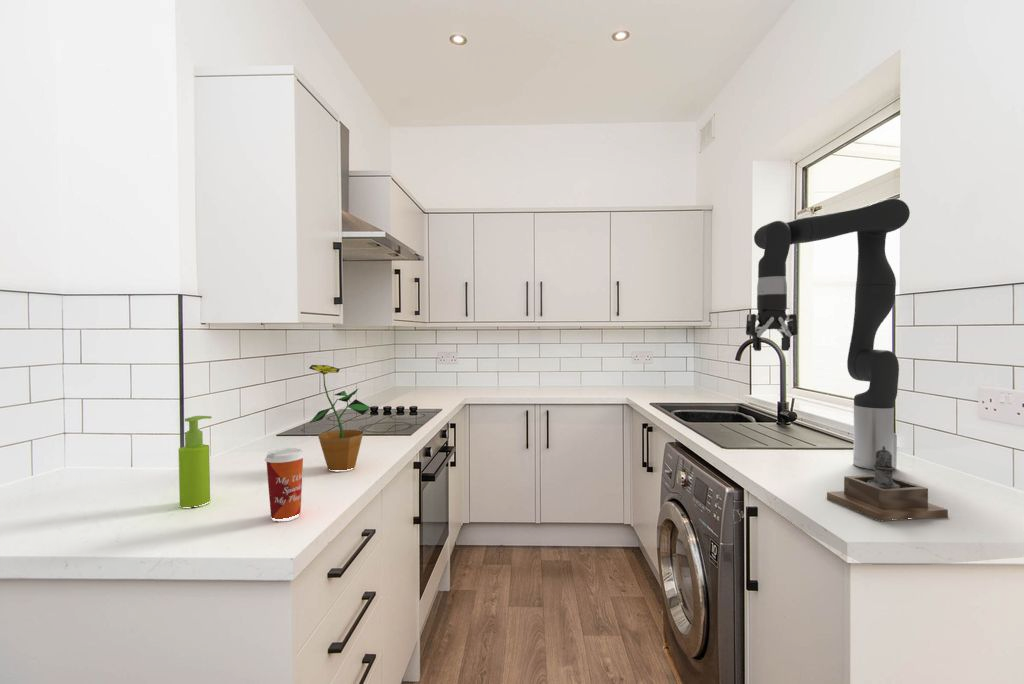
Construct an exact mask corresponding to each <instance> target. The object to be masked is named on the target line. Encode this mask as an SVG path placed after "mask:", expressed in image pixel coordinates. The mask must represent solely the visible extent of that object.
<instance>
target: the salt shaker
mask: <svg viewBox="0 0 1024 684" xmlns="http://www.w3.org/2000/svg"><path fill="white" fill-rule="evenodd" d="M882 448H883V449H881V450H878V451H877V452H876V464H875V465H873V466H874V467H875V470H874V475H875V477H874V479H873V480H869V481H867V483H869V484H872V485H875V486H877V487H880V488H883V489H892V488H900V486H899V485H898V484H896V483H894V482H893V479H892V477H893V470H894V469H895V468H893V467H892V454H891V453H890V452H889V451H887V450H885V447H884V446H883V447H882Z"/></svg>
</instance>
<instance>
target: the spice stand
mask: <svg viewBox="0 0 1024 684" xmlns="http://www.w3.org/2000/svg"><path fill="white" fill-rule="evenodd" d="M874 477H875V474H867V475H851V476H849V475H847V476H845V475H844V477H843V480H844V481H843V490H840V491H839V490H837V491H827V492H826V499H827V498H828V500H829V499H830V501H832V502H834V501H835V502H834V503H836V502H837V503H836V504H839V503H840V504H839V505H841V504H842V506H843V505H844V507H845V506H847V507H846V508H848V507H849V508H848V509H850V508H851V509H850V510H852V509H853V510H852V511H855V512H857V511H858V512H857V513H859V512H860V513H859V514H861V513H862V514H861V515H864V516H866V515H867V517H868V516H869V518H871V517H872V518H871V519H873V518H874V519H873V520H875V519H877V520H880V521H879V522H882V521H881V520H892V519H908V518H923V519H929V518H928V517H938V518H948V517H949V510H948V508H944V507H943V506H942V507H941V506H938V505H936V504H933V503H930V502H929V488H928V487H924V486H921V485H919V484H916V483H912V482H909V481H906V480H903V479H900V478H897V477H893V476H892V479H893V482H894V483H896V484H898V485H899V486H900V488H892V489H883V488H880V487H877V486H875V485H872V484H869V483H867V481H869V480H873V479H874ZM877 520H876V521H877ZM908 520H909V519H908Z"/></svg>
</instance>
